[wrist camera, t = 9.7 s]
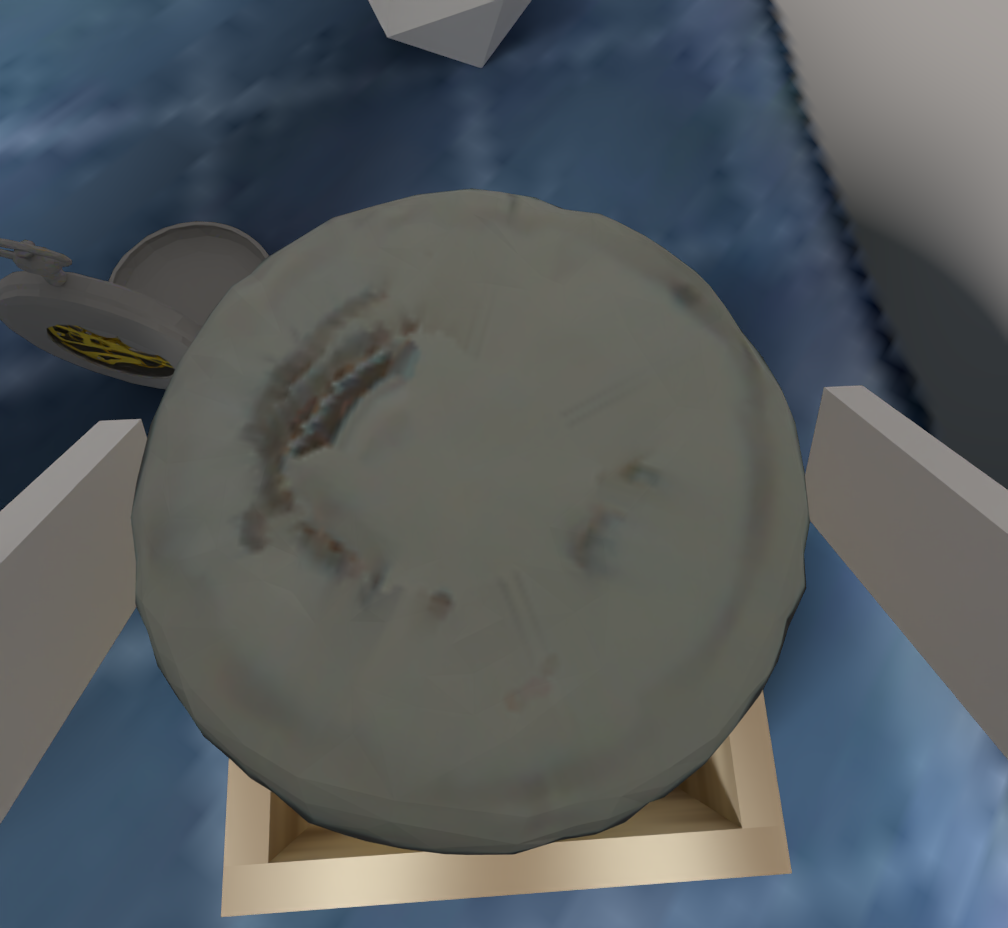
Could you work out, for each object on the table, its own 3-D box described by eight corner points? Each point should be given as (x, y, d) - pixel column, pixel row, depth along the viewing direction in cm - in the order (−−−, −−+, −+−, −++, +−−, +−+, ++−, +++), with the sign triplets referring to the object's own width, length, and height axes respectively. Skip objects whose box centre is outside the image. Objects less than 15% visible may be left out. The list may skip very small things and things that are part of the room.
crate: (301, 840, 22) (221, 916, 15) (310, 454, 26) (248, 379, 19) (700, 811, 22) (791, 873, 16) (652, 437, 26) (710, 359, 19)
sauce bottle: (367, 569, 23) (-211, 148, 4) (532, 499, 24) (647, -122, 5) (438, 758, 22) (-3, 1394, 3) (614, 676, 22) (1237, 722, 3)
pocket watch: (254, 214, 29) (138, -14, 19) (324, 384, 26) (232, 225, 17) (59, 283, 27) (-171, 77, 18) (115, 466, 25) (-110, 345, 16)
